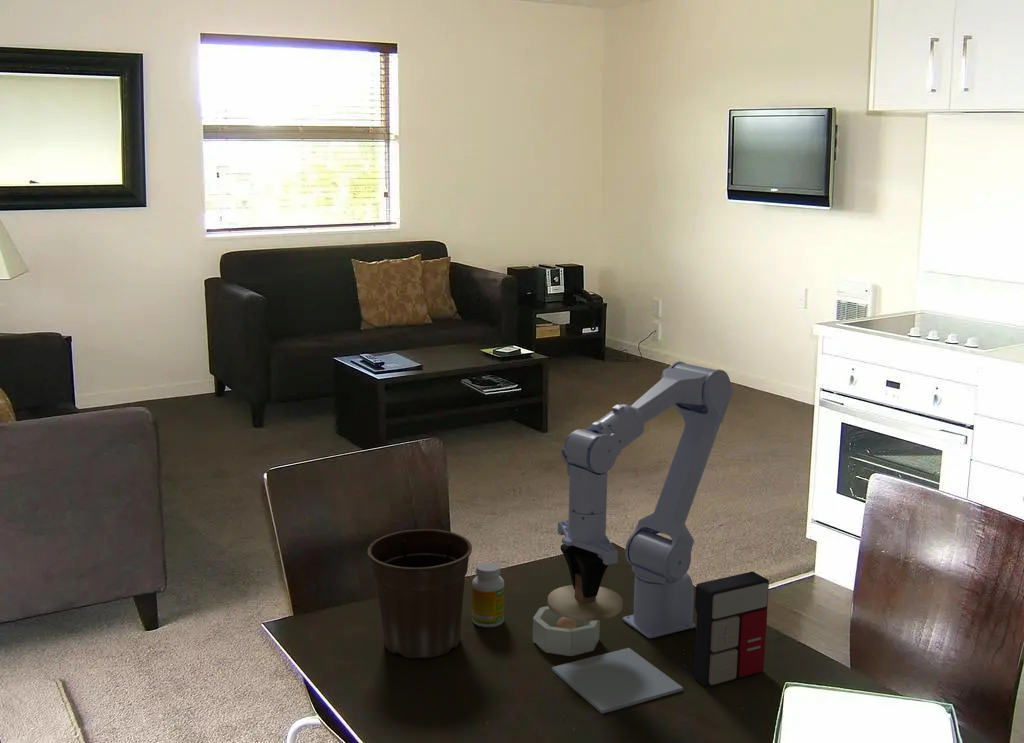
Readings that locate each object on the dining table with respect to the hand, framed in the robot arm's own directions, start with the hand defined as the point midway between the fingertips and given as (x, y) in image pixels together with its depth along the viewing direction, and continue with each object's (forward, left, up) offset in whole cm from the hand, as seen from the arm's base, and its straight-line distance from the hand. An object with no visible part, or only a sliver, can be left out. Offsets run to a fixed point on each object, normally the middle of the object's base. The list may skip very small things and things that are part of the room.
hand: (585, 592), depth 160 cm
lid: (0, 0, -2) cm, 2 cm away
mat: (0, +9, -10) cm, 14 cm away
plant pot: (+21, -16, -11) cm, 28 cm away
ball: (0, -6, -8) cm, 10 cm away
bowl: (0, -6, -10) cm, 12 cm away
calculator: (-16, +15, -11) cm, 25 cm away
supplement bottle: (+8, -18, -11) cm, 22 cm away
